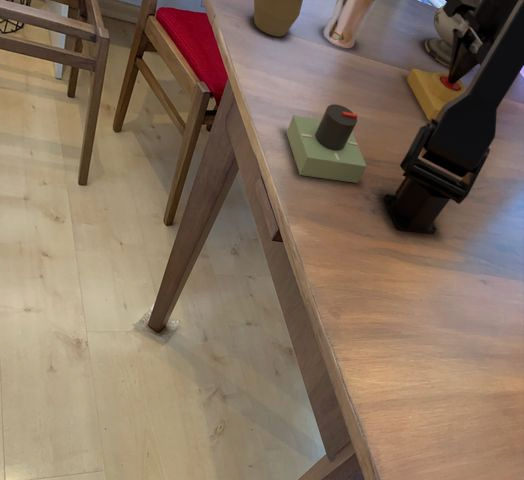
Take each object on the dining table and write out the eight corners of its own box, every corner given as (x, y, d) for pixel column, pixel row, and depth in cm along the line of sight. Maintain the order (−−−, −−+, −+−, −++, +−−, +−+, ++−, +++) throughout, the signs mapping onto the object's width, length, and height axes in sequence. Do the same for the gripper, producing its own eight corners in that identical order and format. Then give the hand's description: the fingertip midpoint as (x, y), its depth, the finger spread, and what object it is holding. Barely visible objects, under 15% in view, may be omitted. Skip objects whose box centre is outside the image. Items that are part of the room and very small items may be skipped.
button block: (470, 128, 99) (484, 108, 96) (428, 120, 96) (441, 99, 93) (446, 88, 105) (458, 68, 102) (406, 79, 102) (417, 58, 99)
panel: (357, 183, 79) (367, 165, 76) (299, 175, 76) (308, 156, 73) (341, 142, 83) (350, 124, 81) (285, 133, 80) (293, 113, 78)
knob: (319, 148, 75) (332, 120, 72) (312, 127, 77) (324, 99, 74) (348, 152, 77) (362, 125, 73) (340, 132, 79) (353, 105, 76)
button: (457, 99, 98) (463, 90, 97) (440, 95, 97) (446, 86, 96) (450, 87, 100) (455, 78, 99) (433, 83, 99) (439, 74, 98)
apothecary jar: (408, 41, 112) (461, -59, 98) (440, 35, 119) (493, -59, 105) (452, 77, 109) (513, -21, 95) (481, 69, 116) (542, -24, 102)
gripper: (576, 33, 83) (508, 123, 95) (523, -28, 93) (468, 61, 105) (519, 15, 79) (455, 112, 91) (470, -46, 89) (418, 48, 101)
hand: (450, 82), depth 97 cm, fingers closed, pressing on button
